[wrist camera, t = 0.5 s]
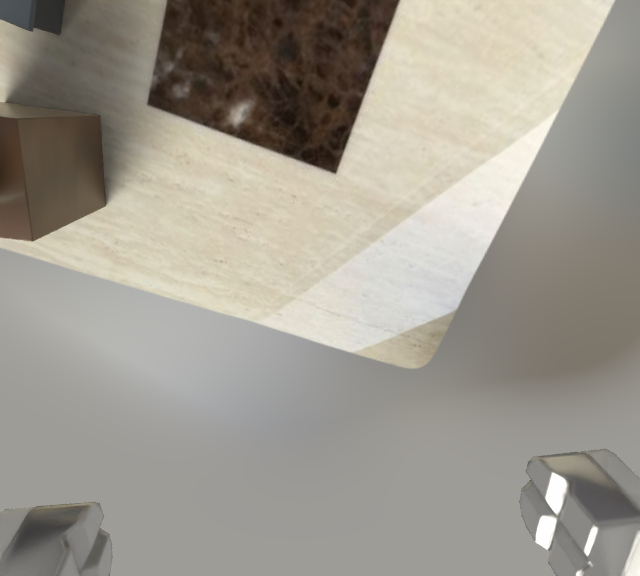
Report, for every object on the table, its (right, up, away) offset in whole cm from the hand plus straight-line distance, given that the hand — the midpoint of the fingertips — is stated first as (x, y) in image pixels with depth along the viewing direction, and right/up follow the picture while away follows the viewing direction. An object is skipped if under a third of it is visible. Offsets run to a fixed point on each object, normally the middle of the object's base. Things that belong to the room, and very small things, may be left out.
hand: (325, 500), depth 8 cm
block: (-27, +17, +35) cm, 47 cm away
